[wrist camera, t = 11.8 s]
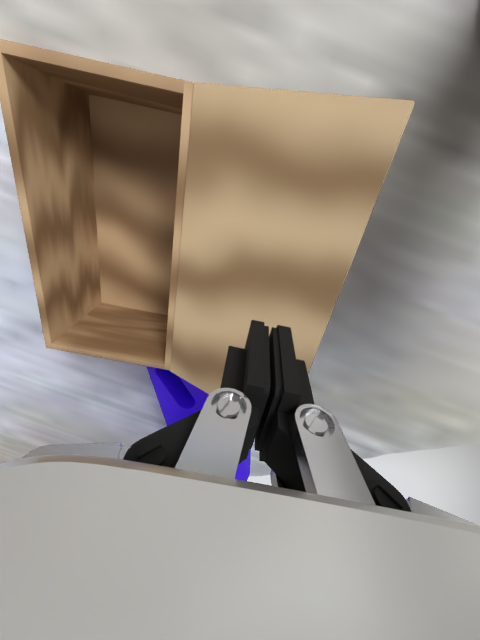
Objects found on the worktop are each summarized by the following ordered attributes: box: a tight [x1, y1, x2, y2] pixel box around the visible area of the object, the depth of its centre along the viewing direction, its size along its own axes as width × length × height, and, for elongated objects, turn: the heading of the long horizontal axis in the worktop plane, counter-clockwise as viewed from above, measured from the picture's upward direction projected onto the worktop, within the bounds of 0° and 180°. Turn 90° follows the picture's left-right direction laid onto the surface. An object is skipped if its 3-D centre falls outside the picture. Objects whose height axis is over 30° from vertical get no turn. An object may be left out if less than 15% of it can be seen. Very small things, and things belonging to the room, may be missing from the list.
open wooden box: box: [0, 39, 194, 370], centre depth 25 cm, size 22×12×10 cm, turn 169°
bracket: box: [147, 366, 251, 481], centre depth 35 cm, size 18×11×12 cm, turn 24°
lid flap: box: [170, 83, 415, 395], centre depth 19 cm, size 22×12×1 cm, turn 169°
